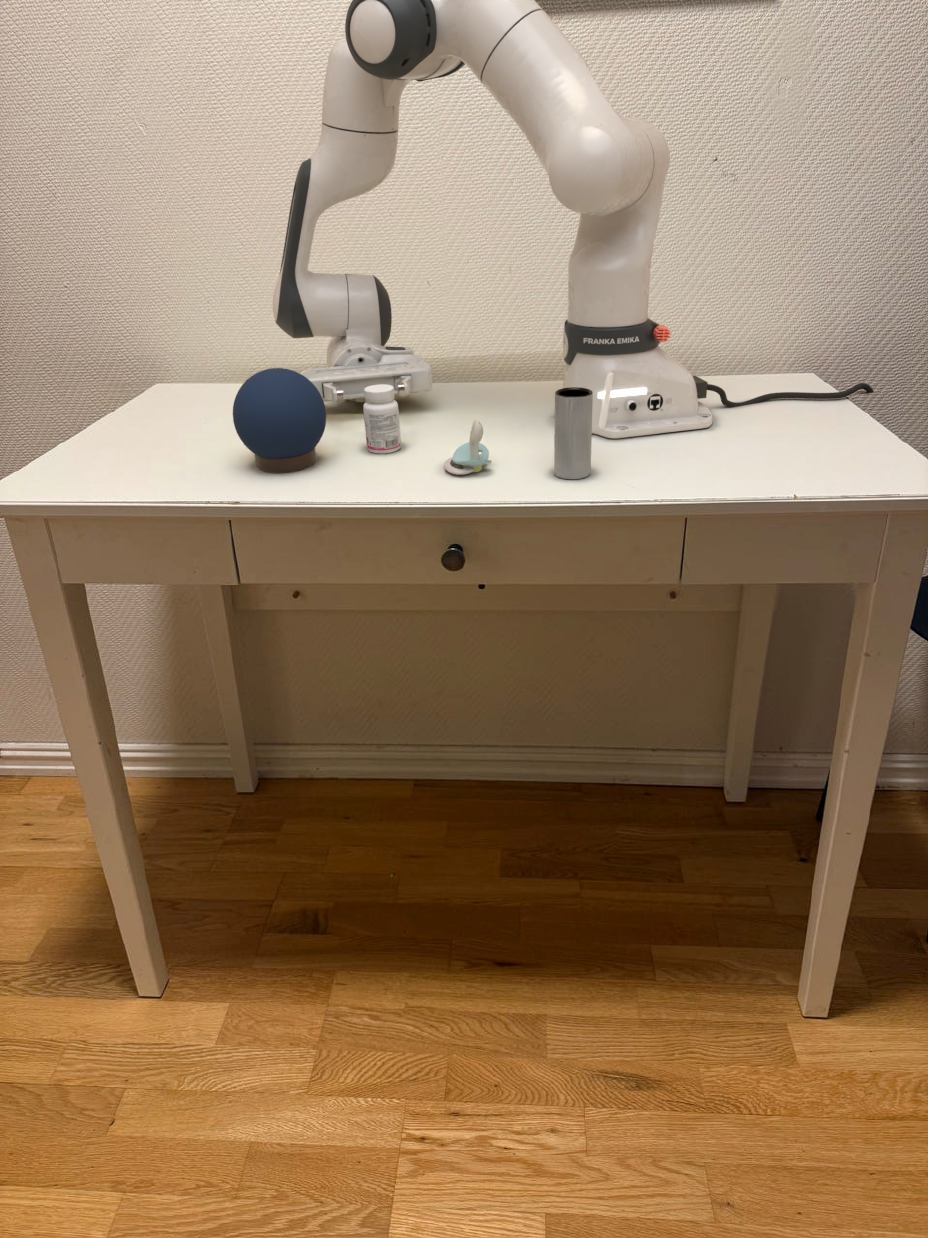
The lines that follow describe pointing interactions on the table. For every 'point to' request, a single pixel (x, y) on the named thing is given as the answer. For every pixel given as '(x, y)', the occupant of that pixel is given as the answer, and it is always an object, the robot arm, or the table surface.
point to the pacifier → (470, 453)
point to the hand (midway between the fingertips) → (371, 393)
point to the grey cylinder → (573, 432)
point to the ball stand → (286, 463)
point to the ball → (279, 414)
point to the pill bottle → (381, 419)
